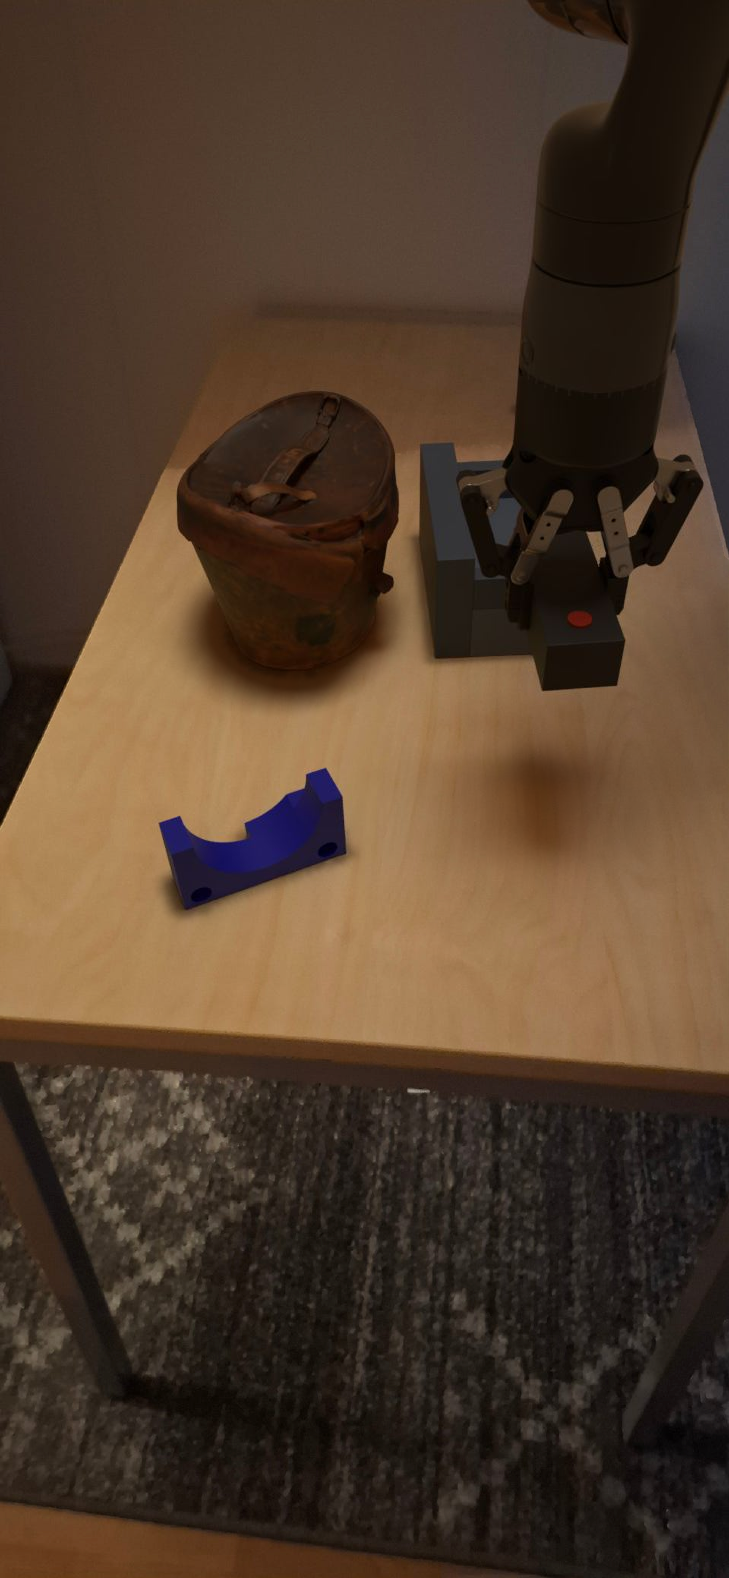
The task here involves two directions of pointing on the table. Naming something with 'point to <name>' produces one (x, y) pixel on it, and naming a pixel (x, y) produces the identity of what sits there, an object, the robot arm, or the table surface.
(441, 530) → the sofa
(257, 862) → the blue bracket
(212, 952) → the table surface
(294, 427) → the case
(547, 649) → the remote
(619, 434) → the robot arm
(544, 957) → the table surface
